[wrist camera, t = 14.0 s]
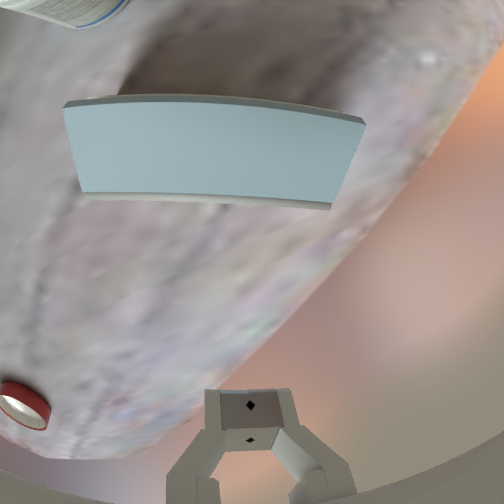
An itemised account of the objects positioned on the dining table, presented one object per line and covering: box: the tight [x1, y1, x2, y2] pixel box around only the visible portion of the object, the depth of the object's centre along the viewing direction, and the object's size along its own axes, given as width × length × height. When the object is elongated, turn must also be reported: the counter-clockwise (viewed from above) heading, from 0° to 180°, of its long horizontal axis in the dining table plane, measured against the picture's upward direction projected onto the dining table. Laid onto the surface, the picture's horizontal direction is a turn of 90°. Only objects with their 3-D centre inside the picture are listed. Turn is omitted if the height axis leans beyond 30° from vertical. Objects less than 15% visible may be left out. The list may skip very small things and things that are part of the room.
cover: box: [62, 96, 366, 210], centre depth 21 cm, size 20×9×1 cm, turn 84°
